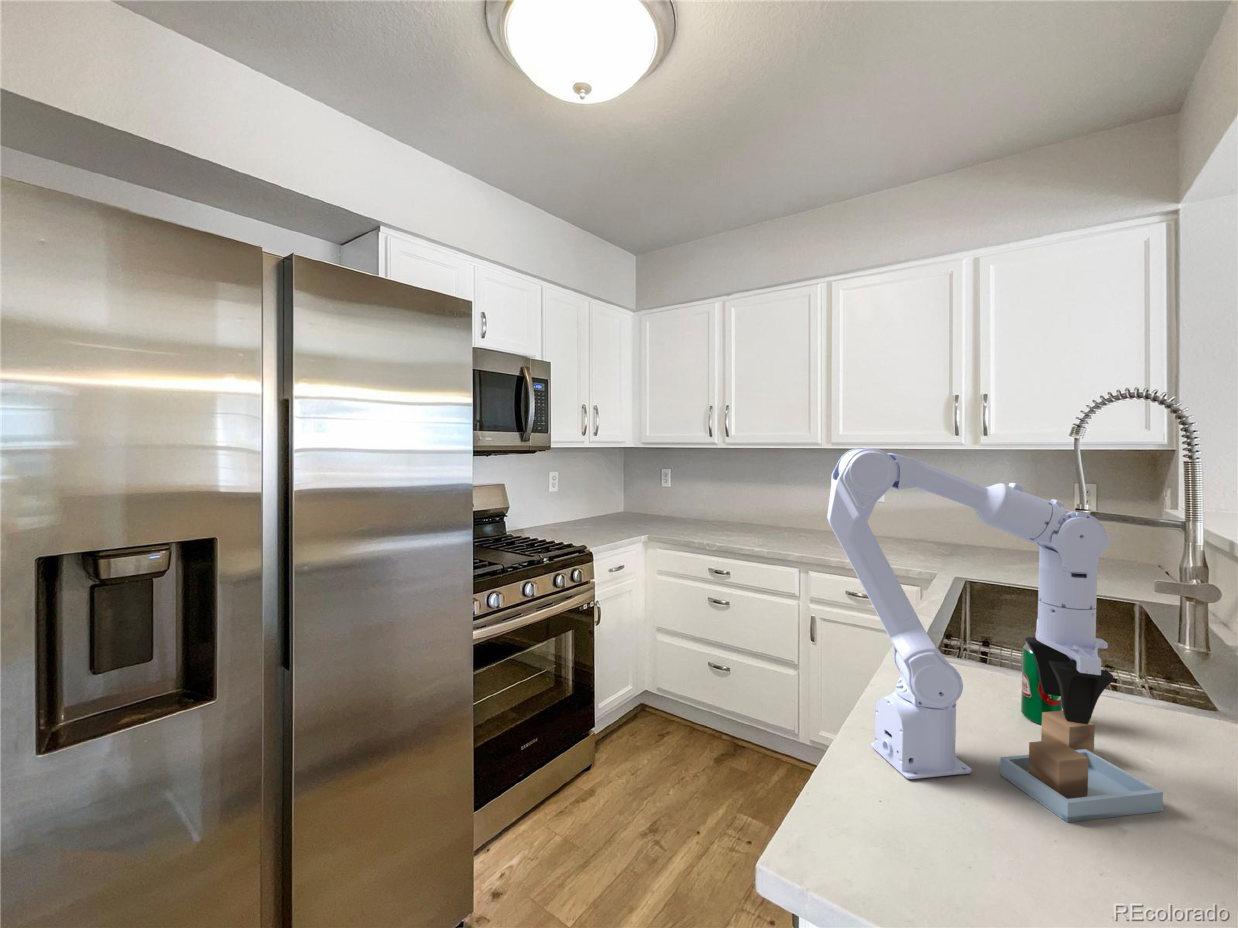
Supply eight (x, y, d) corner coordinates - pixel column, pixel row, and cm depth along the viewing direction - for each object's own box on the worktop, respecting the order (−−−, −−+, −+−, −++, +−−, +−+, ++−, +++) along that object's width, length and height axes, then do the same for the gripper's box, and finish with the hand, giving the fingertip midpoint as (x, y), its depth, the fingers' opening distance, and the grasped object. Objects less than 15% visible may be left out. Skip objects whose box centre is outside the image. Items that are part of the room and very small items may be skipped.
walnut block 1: (1068, 762, 72) (1069, 726, 72) (1041, 746, 76) (1042, 712, 76) (1093, 760, 73) (1094, 724, 73) (1065, 744, 77) (1066, 710, 77)
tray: (1067, 822, 61) (1067, 802, 61) (1000, 774, 70) (1000, 757, 70) (1162, 810, 63) (1163, 791, 63) (1085, 765, 72) (1085, 748, 71)
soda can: (1021, 708, 87) (1023, 636, 87) (1061, 718, 84) (1063, 643, 84) (1020, 720, 83) (1022, 645, 83) (1062, 731, 80) (1064, 653, 80)
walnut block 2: (1087, 798, 64) (1088, 757, 64) (1058, 801, 63) (1059, 760, 63) (1055, 777, 68) (1056, 739, 68) (1028, 780, 67) (1029, 742, 67)
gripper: (1136, 624, 60) (1133, 742, 60) (1081, 591, 73) (1079, 688, 73) (1058, 617, 62) (1056, 730, 63) (1019, 586, 76) (1017, 680, 76)
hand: (1064, 707), depth 68 cm, fingers open, 7 cm apart
